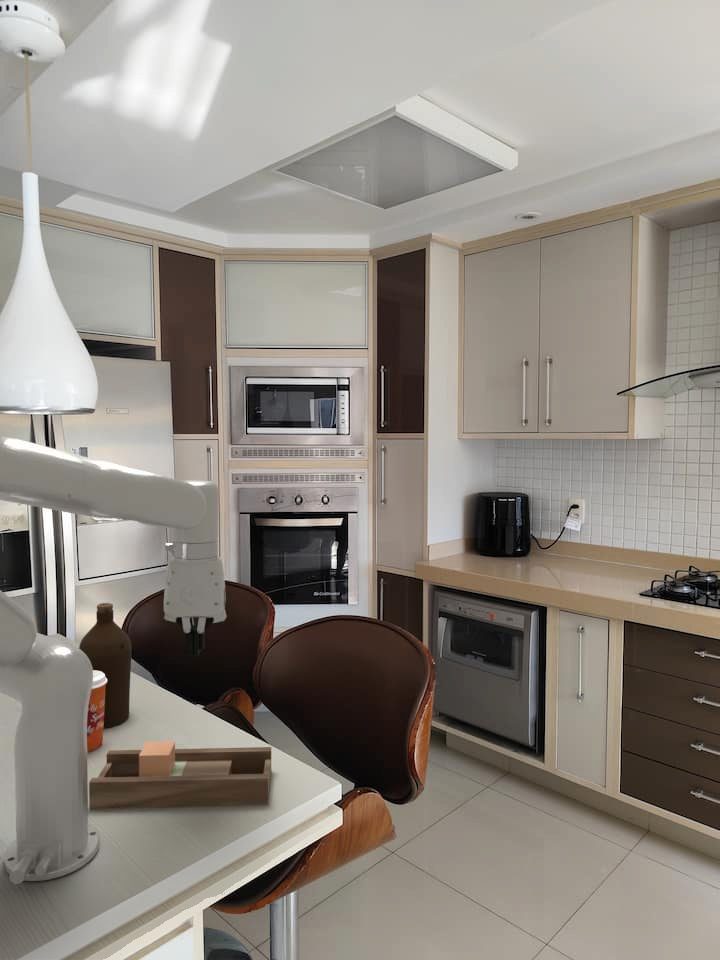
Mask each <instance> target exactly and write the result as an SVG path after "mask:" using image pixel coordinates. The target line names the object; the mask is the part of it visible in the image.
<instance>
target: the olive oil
mask: <svg viewBox="0 0 720 960" xmlns="http://www.w3.org/2000/svg"><path fill="white" fill-rule="evenodd" d="M96 609H97V610H96V622H95V624H94V625H93V626H92V628H90V629H89V630H88V632H87V633H86V634H85V635H84V636H83V637H82V639H81V640H80V644H79V646H78V648H79V649H80V650H82V651H83V652H84V653H85V654H86V656H87V657H88V658H89V660H90V662H91V665H92V668H93V670H95V671H101V672H103V673H104V674H105V677H106V678H107V683H106V686H105V706H104V726H103V729H107V728H108V729H109V728H113V727H117V726H119V725H122V724H123V723H125V722H126V721H127V720H128V719H129V717H130V692H131V691H130V690H131V672H132V671H131V670H132V669H131V667H132V649H133V647H132V641H131V639H130V637H129V634H127V632H125V631H124V630H123V628H121V626H120V625H118V624H117V623H116V622H115V621H114V610H113V609H114V604H113V603H109V602H105V603H104V602H102V603H99V604H97V605H96Z"/></svg>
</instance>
